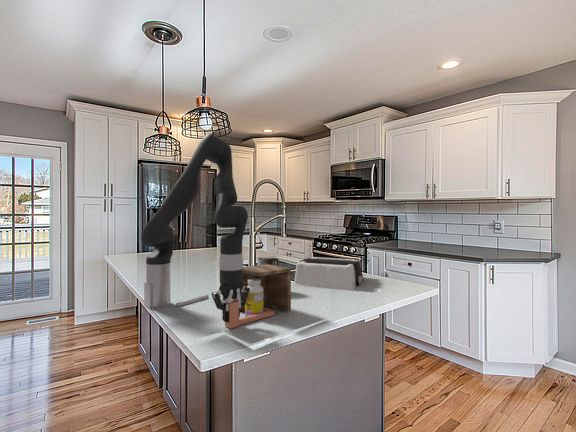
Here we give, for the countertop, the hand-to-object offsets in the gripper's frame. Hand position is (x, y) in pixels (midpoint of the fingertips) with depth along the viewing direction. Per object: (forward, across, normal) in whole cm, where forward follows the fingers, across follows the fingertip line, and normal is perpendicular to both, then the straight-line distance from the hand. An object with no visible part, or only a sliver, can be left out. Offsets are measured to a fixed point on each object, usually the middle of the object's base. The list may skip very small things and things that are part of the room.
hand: (231, 320), depth 106 cm
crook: (+2, 0, 0) cm, 2 cm away
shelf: (+2, +19, +6) cm, 20 cm away
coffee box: (+3, +39, +28) cm, 49 cm away
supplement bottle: (+2, +13, +5) cm, 14 cm away
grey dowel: (+1, +5, +37) cm, 37 cm away
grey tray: (+3, +76, +21) cm, 78 cm away
